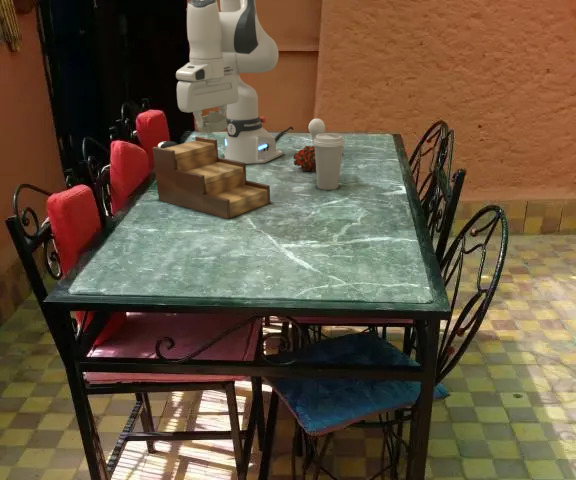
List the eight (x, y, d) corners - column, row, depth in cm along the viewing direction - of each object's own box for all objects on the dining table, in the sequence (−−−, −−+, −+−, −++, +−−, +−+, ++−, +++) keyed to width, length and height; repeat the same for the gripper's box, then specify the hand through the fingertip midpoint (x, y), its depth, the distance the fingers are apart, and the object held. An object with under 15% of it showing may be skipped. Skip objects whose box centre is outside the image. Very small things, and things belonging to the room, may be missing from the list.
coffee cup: (345, 190, 194) (347, 139, 186) (314, 191, 193) (315, 140, 185) (340, 182, 202) (342, 132, 194) (310, 183, 201) (311, 133, 193)
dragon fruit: (322, 178, 211) (295, 178, 218) (333, 159, 213) (306, 158, 220) (310, 160, 204) (283, 160, 212) (322, 139, 206) (294, 140, 214)
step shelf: (202, 186, 199) (198, 136, 191) (270, 202, 185) (268, 149, 176) (158, 200, 188) (152, 147, 180) (227, 218, 173) (224, 162, 165)
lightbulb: (316, 147, 242) (316, 116, 236) (327, 149, 238) (328, 118, 232) (304, 149, 239) (305, 118, 232) (316, 152, 235) (316, 120, 229)
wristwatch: (232, 130, 178) (231, 111, 175) (220, 134, 173) (219, 115, 170) (204, 127, 181) (202, 109, 178) (192, 132, 176) (190, 112, 173)
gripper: (225, 64, 177) (228, 117, 184) (170, 73, 163) (176, 129, 171) (242, 66, 173) (244, 120, 181) (187, 74, 160) (192, 132, 168)
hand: (211, 125), depth 176 cm, fingers closed on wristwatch, 6 cm apart
